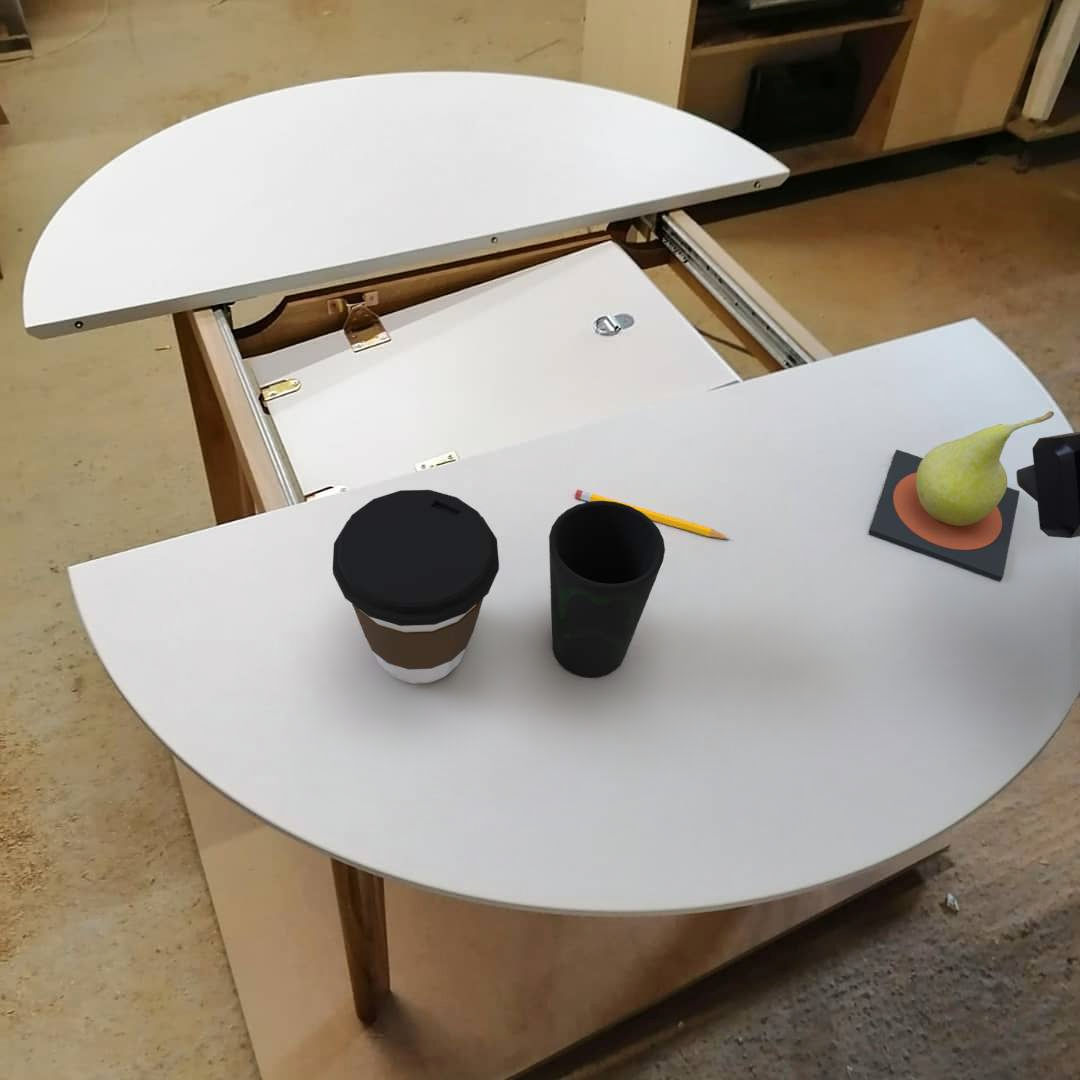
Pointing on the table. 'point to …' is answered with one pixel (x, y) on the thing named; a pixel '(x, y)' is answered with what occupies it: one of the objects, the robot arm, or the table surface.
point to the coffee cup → (416, 579)
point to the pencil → (658, 517)
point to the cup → (600, 583)
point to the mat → (942, 524)
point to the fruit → (966, 475)
